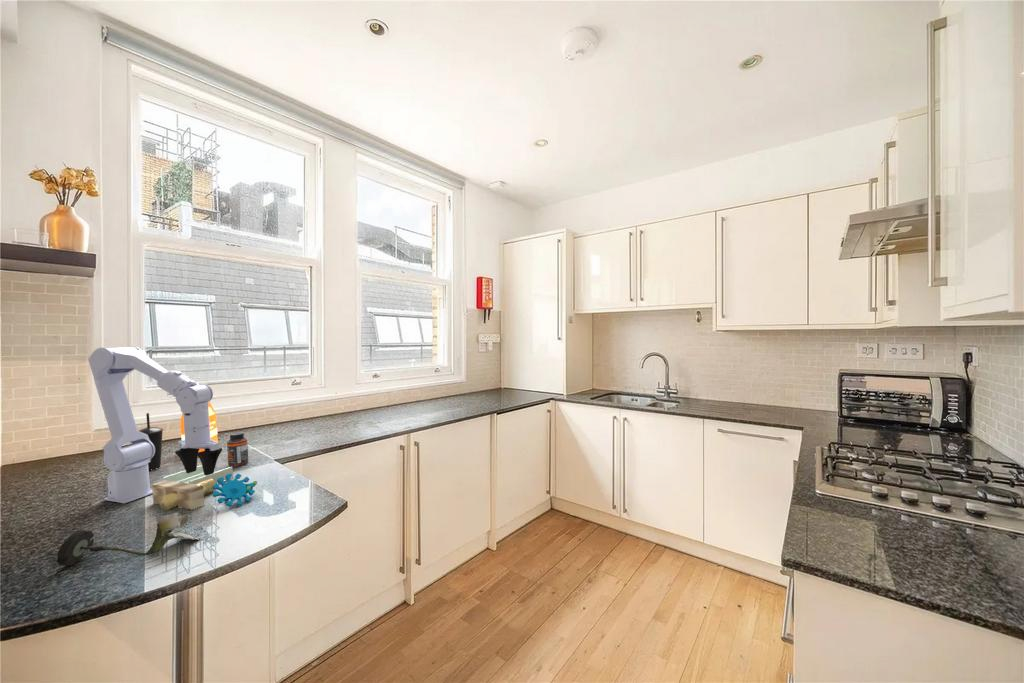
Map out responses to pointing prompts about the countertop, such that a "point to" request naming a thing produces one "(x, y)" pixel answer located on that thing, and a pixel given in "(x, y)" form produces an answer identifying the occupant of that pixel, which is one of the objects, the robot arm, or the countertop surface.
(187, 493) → the beam
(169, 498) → the axle
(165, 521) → the artificial flower
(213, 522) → the countertop surface
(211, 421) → the orange juice
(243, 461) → the supplement bottle
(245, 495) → the gear
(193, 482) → the pale green slotted tray
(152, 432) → the drinking cup
